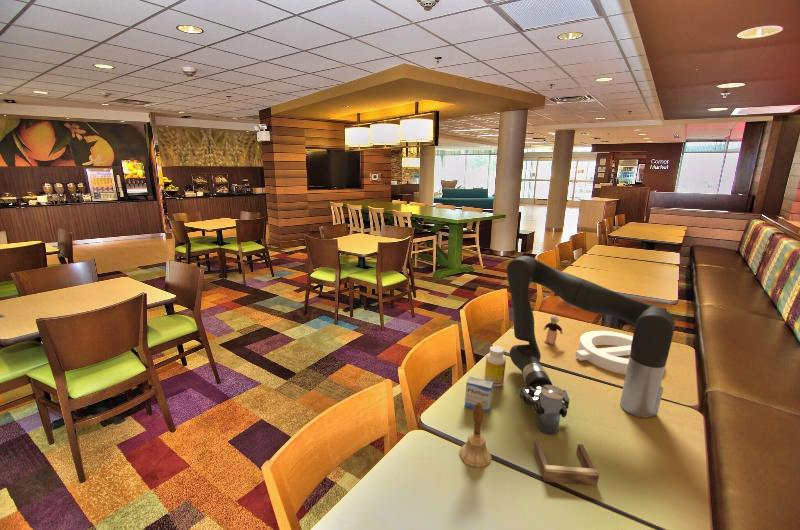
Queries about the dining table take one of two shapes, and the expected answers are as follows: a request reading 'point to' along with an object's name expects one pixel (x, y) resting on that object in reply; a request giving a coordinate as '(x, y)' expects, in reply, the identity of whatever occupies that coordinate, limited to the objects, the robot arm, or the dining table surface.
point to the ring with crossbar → (605, 350)
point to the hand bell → (476, 443)
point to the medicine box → (479, 393)
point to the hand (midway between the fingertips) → (552, 413)
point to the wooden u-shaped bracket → (567, 468)
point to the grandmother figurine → (552, 330)
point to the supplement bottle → (495, 366)
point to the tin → (550, 409)
